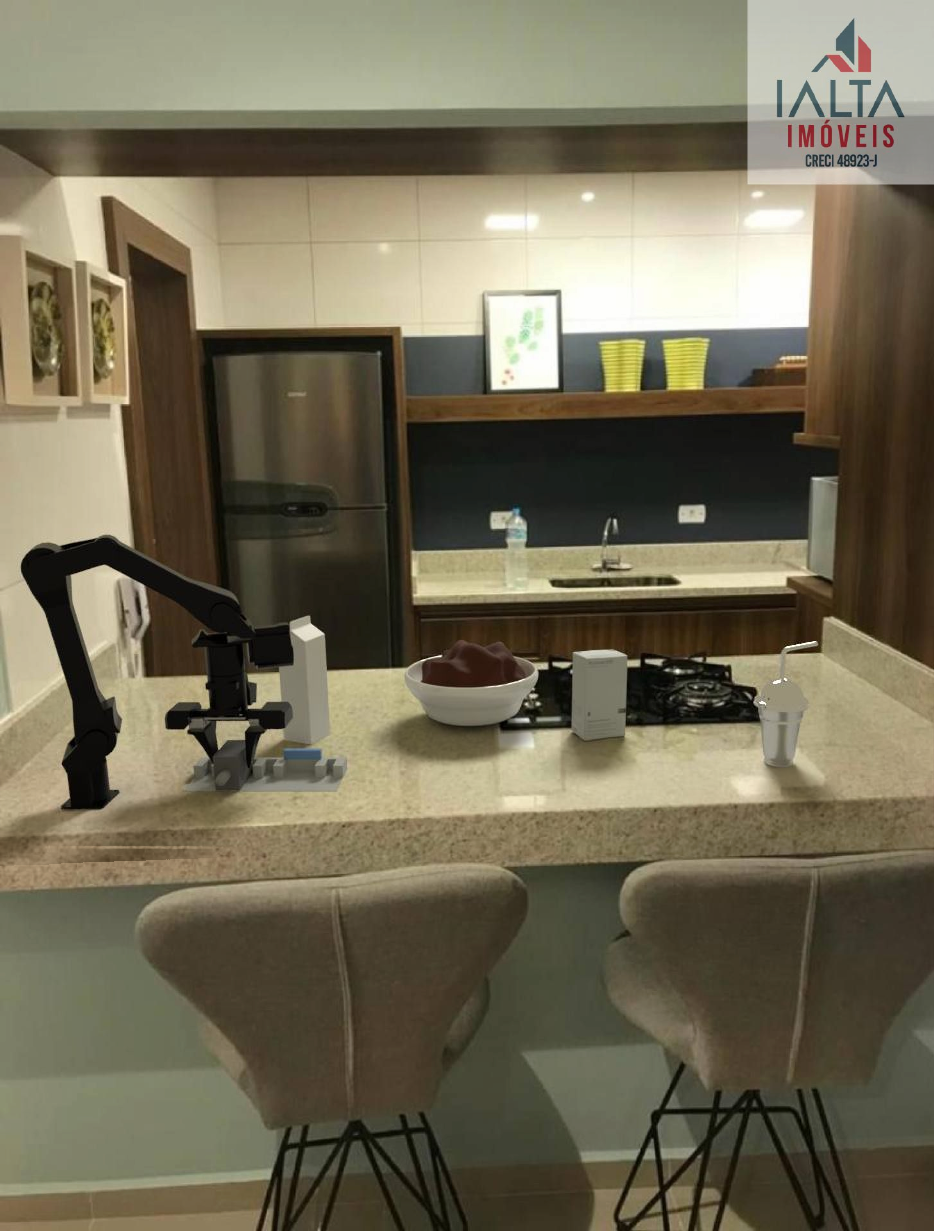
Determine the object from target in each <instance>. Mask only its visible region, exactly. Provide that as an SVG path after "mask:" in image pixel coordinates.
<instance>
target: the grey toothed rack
mask: <svg viewBox="0 0 934 1231" xmlns="http://www.w3.org/2000/svg"><path fill="white" fill-rule="evenodd" d="M322 750H323V749H322V748H318V747H317V748H316V747H315V748H309V747H307V748H304V747H303V748H290V747H289V748H284V749H283V756H282V757H277V756H276V757H274V756H273V757H265V756H264V757H262V756H261V757H254V760H253V773H252V775H251V776H250V777H249V779H248V780H247V781H246V783H245V784H244V786H243V787H242V788H241V790H216V789H215V777H214V766H213V763H212V762H211V760H210V758H209V757H200V758H199V759H198V760H197V762H196V763H194V764H193V776H194V777H193V779H191V781H190V782H189V783H188V784H187V785H186V787H185V788H184V789H183V791H182V792H337V791H338V789H339V788H340V785H341V783H342V781H343V779H344V777H345V775H346V773H347V770H348V760H347V756H343V757H342V756H341V757H339V756H337V757H334V756H333V757H331V756H330V757H327V756H326V757H325V756H324V757H323V751H322Z"/></svg>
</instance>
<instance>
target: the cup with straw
mask: <svg viewBox="0 0 934 1231" xmlns="http://www.w3.org/2000/svg"><path fill="white" fill-rule="evenodd" d="M818 646H819V643H818V641H817V640H816V641H811V642H805V643H801V644H800V643H799V644H796V645H789V646H786V647H784V648H783V649H782V650H781V652H780V666H779V667H780V669H779V671H780V672H779V678H775V679H772V680H770V681H768V682H766V683H765V684H764V685H763V686H762V688H761V689H760V691H759V693H758V694H757V695H756V696H754V700H753V705H754V706H755V707H757V708H758V715H759V720H760V727H761V728H760V729H761V731H760V732H761V742H762V754H763V756H764V758H763V762H764V764H766V765H769V766H772V767H777V768H786V767H787V768H788V767H790V766H793V764H794V758H795V755H796V749H797V744H798V740H799V739H798V738H799V732H800V728H801V723H802V721H803V718H804V713H805V711H807V710H809V708H810V707H811V706H810V702H809V699H807V697H805V694H804V692H803V690H802V688H801V687H800V686H799V685H798V684H797V683H796V682H795V681H792V680H790V679H787V678H785V676H786V660H787V659H786V656H787V655H786V654H787V653H788V652H791V651H797V650H801V649H807V648H811V647H818Z"/></svg>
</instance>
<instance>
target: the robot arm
mask: <svg viewBox="0 0 934 1231" xmlns="http://www.w3.org/2000/svg"><path fill="white" fill-rule="evenodd" d="M100 566H107V567H108V568H111V569H112V570H115V571H116V572H118V573H120V574H122V575H124V576H126V577H127V578H129V579H132V580H134V581H135V582H137V583H139V584H141V585H143V586H145V587H147V588H149V589H151V590H153V591H154V592H157V593H158V594H160V595H161V596H162V595H163V596H164V597H166V598H168V599H170V600H172V601H173V602H175V603H177V604H178V605H180V607H182V608H184V609H185V611H187V612H188V613H189V614H190V615H191V616H192V617H193V618H195V620H198V621H199V622H200V623H201V624H203V625H204V626H205V627H206V628H208V629H209V630H211V631H212V633H211V632H207V631H206V630H205V629H204V628H200V629H199V631H198V632H197V634H196V635H195V636H194V637H193V638H192V639H191V646H192V648H195V649H196V648H197V649H198V648H204V653H205V654H204V656H205V667H206V677H207V678H206V679H207V681H206V682H205V683H204V684H205V685H204V686H205V690H206V691H208V700H209V701H208V703H209V707H208V708H202V705H201V703H200V702H199V701H183V702H182V701H178V702H177V703H175V704H174V705H173V706H172V707H171V708H169V710H167V712H166V713H165V716H164V725H165V729H166V730H168V731H169V730H170V731H172V730H176V731H179V730H182V731H184V730H186V729H187V728H188V729H187V731H186V732H187V735H191V736H193V737H194V738H195V739H196V741H197V742H198V743H199V745H200V746H201V747H202V749H203V750H204V752H205V754H206V756H207V758H210V760H211V762H212V763H213V756H214V755H215V754H216V753H217V751H218V750H219V746H218V745H219V744H218V739H217V722H248V725H249V726H248V727H247V728H246V729H245V731H244V740H245V748H246V762H247V767H248V768H251V766H252V764H253V760H254V758H255V756H256V751H257V748H258V744H259V741H260V738H261V736H262V735H263V734H265V733H266V732H267V730H283V729H284V728H286V726H287V725H288V724H289V722H290V721H291V720H292V718H293V710H292V706H291V705H290V703H289V702H281V701H266V702H265V703H264V705H263V706H262V707H261V708H249V706H252V705H253V703H254V704H255V703H257V698H258V697H257V694H258V693H257V692H258V688H257V687H258V682H252V681H249V676H248V673H247V672H246V666H245V654H244V644H246V651H247V658H248V664H253V666H254V667H256V670H261V669H262V670H263V669H270V668H279V667H284V666H293V664H294V652H293V646H292V644H291V637H290V624H289V623H288V622H285V621H284V622H277V623H275V624H265V625H255V626H254V625H253V623H252V621H251V620H250V619H249V618H247V617H246V616H245V614H244V613H243V612H242V609H241V606H240V603H239V602H240V601H239V600H238V598H237V596H236V595H235V594H234V593H233V592H232V591H230V590H228V589H225V588H222V587H219V586H216V585H213V584H211V583H207V582H203V581H198V580H195V579H193V578H189V577H188V576H185V575H184V574H182V573H179V572H177V571H175V570H174V569H172V568H170V567H169V566H166V565H165V564H163V563H161V562H159V561H157V560H155V559H154V558H151V557H150V556H148V555H146V554H144V553H143V552H141V551H139V550H137V549H135V548H133V547H131V546H130V545H127V544H126V543H124V542H122V541H121V540H119V539H118V538H117V537H116V536H114V535H112V534H102V535H100V536H98V537H94V538H91V539H89V538H88V539H83V540H79V541H73V542H69V543H65V544H60V545H58V544H57V543H53V542H48V541H47V542H41V543H38V544H36V545H35V546H33V547H32V548H31V549H30V550H29V551H28V552H27V553H26V554H25V555H24V556H23V558H22V560H21V562H20V572H21V575H22V578H23V579H24V581H25V583H26V585H27V587H28V589H29V590H30V593H31V595H32V596H33V597H34V599H35V600H36V602H37V603H38V605H39V607H41V609H42V610H43V613H44V615H45V619H46V621H47V622H46V623H47V625H48V627H49V632H50V634H51V637H52V640H53V644H54V648H55V650H56V654H57V657H58V660H59V663H60V664H59V665H60V666H61V669H62V673H63V676H64V679H65V683H66V685H67V688H68V692H69V695H70V699H71V702H72V703H71V706H72V722H73V723H72V726H73V734H74V736H73V737H72V738H71V739H70V740H69V742H68V743H67V744H66V748H65V750H64V754H63V757H62V761H61V766H62V767H63V770H64V771H65V773H66V777H67V785H68V793H69V798H68V799H67V800H65V801H64V803H62V804H61V805H60V809H61V810H103V809H104V808H106V806H108V804H109V803H110V804H111V802H112V800H114V799H115V798H116V797H117V796H118V795H119V794H120V793H121V792H120V789H110V788H111V786H110V778H109V769H108V760H107V756H109V755H110V754H111V753H113V751H114V750H115V748H116V747H117V742H118V736H119V734H121V730H122V723H123V718H122V717H121V716H120V715H119V712H118V709H117V702H116V701H117V700H116V697H115V696H111V697H109V698H106V697H105V696H104V695H103V693H102V692H101V690H100V688H99V684H98V683H97V679H96V674H95V672H94V669H93V665H92V661H91V659H90V656H89V653H88V649H87V645H86V643H85V640H84V636H83V633H82V628H81V626H80V622H79V620H78V616H77V612H76V610H75V606H74V601H73V586H72V582H73V581H72V575H77V574H78V573H82V572H85V571H88V570H91V569H94V568H97V567H100ZM227 632H228V633H230V634H232V636H229V635H228V633H227ZM233 635H234V636H233Z"/></svg>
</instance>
